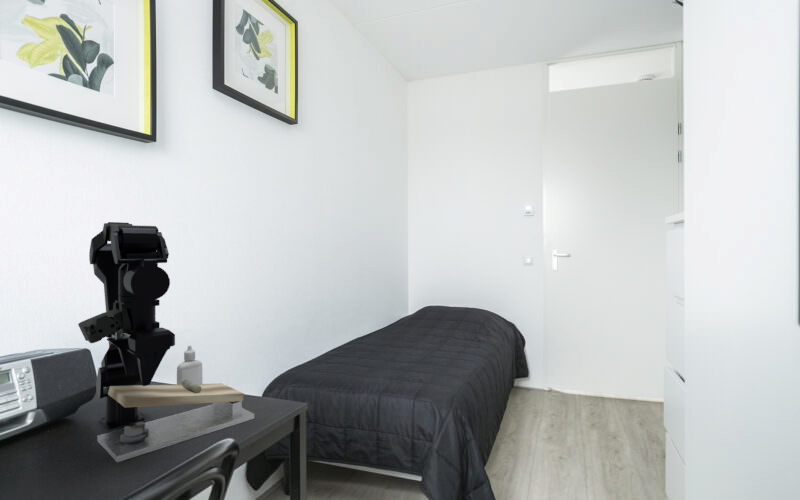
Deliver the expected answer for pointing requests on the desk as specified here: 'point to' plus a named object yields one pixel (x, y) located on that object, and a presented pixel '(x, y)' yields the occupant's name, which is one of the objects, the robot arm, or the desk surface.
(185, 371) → the eye dropper bottle
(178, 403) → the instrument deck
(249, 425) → the desk surface
